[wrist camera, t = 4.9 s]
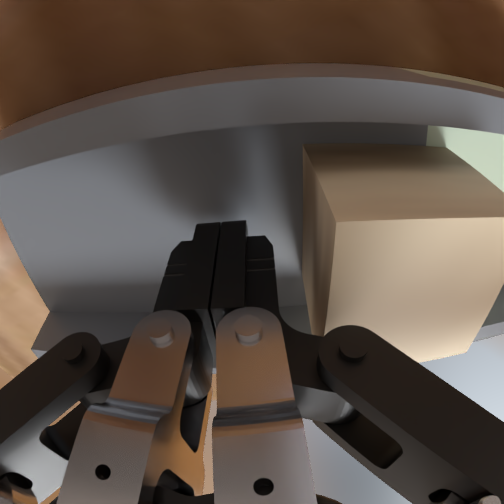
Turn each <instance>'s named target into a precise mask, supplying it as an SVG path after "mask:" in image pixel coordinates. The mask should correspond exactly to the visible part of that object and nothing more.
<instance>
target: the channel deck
mask: <svg viewBox="0 0 504 504" xmlns="http://www.w3.org/2000/svg"><path fill="white" fill-rule="evenodd" d="M321 143H367V144H399V145H418V146H433V147H446V148H448V149H449V150H451V151H452V152H453V153H455V154H456V155H458V156H459V157H460V158H462V159H463V160H464V161H466V162H467V163H468V164H470V165H471V166H472V167H473V168H475V169H476V170H477V171H478V172H480V173H481V174H482V175H483V176H485V177H486V178H487V179H488V180H490V181H491V182H492V183H493V184H494V185H496V186H497V187H498V188H499V189H500V190H501V191H502V192H504V88H503V87H500V86H496V85H492V84H488V83H484V82H480V81H476V80H471V79H467V78H462V77H457V76H452V75H446V74H440V73H434V72H428V71H421V70H414V69H406V68H397V67H387V66H376V65H361V64H338V63H293V64H270V65H255V66H243V67H233V68H224V69H215V70H208V71H201V72H194V73H188V74H182V75H176V76H170V77H165V78H160V79H155V80H150V81H145V82H141V83H136V84H132V85H128V86H124V87H120V88H116V89H112V90H108V91H105V92H101V93H98V94H94V95H91V96H87V97H84V98H81V99H78V100H75V101H71V102H68V103H65V104H62V105H60V106H57V107H54V108H51V109H48V110H46V111H43V112H40V113H38V114H35V115H32V116H30V117H27V118H25V119H22V120H20V121H18V122H15V123H13V124H11V125H10V126H8V127H6V128H4V129H2V130H0V218H1V220H2V222H3V224H4V227H5V229H6V231H7V233H8V235H9V237H10V240H11V242H12V244H13V246H14V248H15V250H16V252H17V254H18V256H19V258H20V260H21V262H22V264H23V265H24V267H25V269H26V271H27V273H28V275H29V277H30V278H31V280H32V282H33V284H34V285H35V287H36V289H37V291H38V292H39V294H40V296H41V297H42V299H43V301H44V302H45V304H46V306H47V307H48V309H49V311H50V313H49V314H48V316H47V318H46V320H45V322H44V324H43V326H42V328H41V330H40V332H39V334H38V336H37V338H36V340H35V342H34V344H33V346H32V348H31V350H32V351H33V352H34V354H35V355H36V356H37V357H38V358H40V357H41V356H42V355H43V354H45V353H46V352H47V351H48V350H50V349H51V348H52V347H54V346H55V345H56V344H57V343H59V342H60V341H61V340H62V339H64V338H65V337H67V336H69V335H71V334H73V333H77V332H88V333H91V334H93V335H94V336H95V337H96V338H97V339H98V340H99V342H100V343H101V345H102V344H106V343H110V342H114V341H118V340H122V339H125V338H128V337H130V336H131V335H132V332H133V330H134V328H135V326H136V325H137V324H138V322H139V321H140V320H141V319H143V318H144V317H146V316H147V315H149V314H151V313H153V310H154V306H155V303H156V299H157V296H158V293H159V289H160V286H161V283H162V279H163V277H164V273H165V270H166V266H167V263H168V260H169V257H170V254H171V252H172V250H173V249H174V248H175V247H176V246H177V245H178V244H179V243H180V242H181V241H191V240H192V239H193V235H194V231H195V227H196V225H197V224H200V223H212V222H221V223H222V222H225V221H238V220H247V227H248V236H262V235H265V236H266V237H267V238H268V240H269V241H270V242H271V243H272V245H273V250H274V260H275V271H276V282H277V293H278V304H279V312H280V315H281V317H282V318H283V320H284V321H285V322H286V323H287V324H288V325H289V326H290V327H292V328H293V329H295V330H297V331H300V332H303V333H307V334H312V333H311V326H310V320H309V314H308V307H307V301H306V295H305V289H304V283H303V277H302V249H303V144H321ZM501 334H504V284H503V286H502V288H501V290H500V292H499V294H498V296H497V298H496V300H495V302H494V304H493V306H492V308H491V310H490V312H489V314H488V316H487V317H486V319H485V321H484V323H483V325H482V326H481V328H480V330H479V332H478V333H477V335H476V337H475V338H474V340H473V342H475V341H478V340H483V339H487V338H490V337H494V336H498V335H501ZM212 374H216V368H213V371H212Z"/></svg>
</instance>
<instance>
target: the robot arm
mask: <svg viewBox="0 0 504 504" xmlns="http://www.w3.org/2000/svg"><path fill="white" fill-rule="evenodd" d="M213 368H216V382H217V414H216V416H215V417H214V419H213V423H212V454H213V482H214V493H212V494H206V495H202V494H203V487H204V479H205V469H204V462H203V451H204V445H205V438H206V432H207V426H208V419H209V413H210V407H211V401H212V395H213V390H212V386H211V383H212V371H213ZM77 401H80V402H81V403H80V404H79V405H78V406H77V407H75V408H74V409H73V410H72V411H71V412H69V413H68V414H67V415H66V416H65V417H63V418H62V419H61V420H60V421H59V422H57V423H56V424H55V425H52V426H49V425H50V424H51V423H52V422H53V421H55V420H56V419H57V418H58V417H59V416H61V415H62V414H63V413H64V412H65V411H66V410H68V409H69V408H70V407H71V406H73V405H74V404H75V403H76V402H77ZM302 418H305V419H310V420H313V422H314V423H315V425H316V426H317V427H319V428H320V429H321V430H322V431H323V432H324V433H325V434H327V435H328V436H329V437H330V438H331V439H332V440H334V441H335V442H336V443H337V444H338V445H339V446H341V447H342V448H343V449H344V450H345V451H346V452H348V453H349V454H350V455H351V456H352V457H354V458H355V459H356V460H357V461H359V462H360V463H361V464H362V465H363V466H365V467H366V468H367V469H368V470H369V471H371V472H372V473H373V474H374V475H376V476H377V477H378V478H380V479H381V480H382V481H383V482H385V483H386V484H387V485H389V486H390V487H391V488H392V489H394V490H395V491H396V492H398V493H399V494H400V495H402V496H403V497H404V498H406V499H407V500H408V501H410V502H411V503H412V504H504V422H503V421H501V420H500V419H498V418H497V417H495V416H494V415H493V414H491V413H489V412H488V411H487V410H485V409H484V408H482V407H481V406H480V405H478V404H477V403H475V402H474V401H472V400H471V399H470V398H468V397H467V396H465V395H464V394H462V393H461V392H459V391H458V390H457V389H455V388H454V387H452V386H451V385H449V384H448V383H446V382H445V381H444V380H442V379H441V378H439V377H438V376H436V375H435V374H433V373H432V372H431V371H429V370H428V369H426V368H425V367H423V366H422V365H420V364H419V363H418V362H416V361H415V360H413V359H412V358H410V357H409V356H407V355H406V354H405V353H403V352H402V351H400V350H399V349H397V348H396V347H394V346H393V345H392V344H390V343H389V342H387V341H386V340H384V339H383V338H381V337H380V336H378V335H377V334H376V333H374V332H373V331H371V330H369V329H367V328H365V327H361V326H357V325H344V326H340V327H336V328H334V329H332V330H331V331H329V332H328V333H327V334H326V335H325V336H324V337H322V336H317V335H312V334H307V333H303V332H300V331H297V330H295V329H293V328H292V327H290V326H289V325H288V324H287V323H286V322H285V321H284V320H283V318H282V317H281V315H280V312H279V304H278V293H277V282H276V271H275V260H274V250H273V245H272V243H271V242H270V241H269V240H268V238H267V237H266V236H265V235H262V236H248V227H247V220H238V221H225V222H222V223H221V222H212V223H200V224H197V225H196V227H195V231H194V235H193V239H192V240H191V241H181V242H180V243H179V244H178V245H177V246H176V247H175V248H174V249H173V250H172V252H171V254H170V257H169V260H168V263H167V266H166V270H165V273H164V277H163V279H162V283H161V286H160V289H159V293H158V296H157V299H156V303H155V306H154V310H153V313H151V314H149V315H147V316H146V317H144V318H143V319H141V320H140V321H139V322H138V324H137V325H136V326H135V328H134V330H133V332H132V335H131V336H130V337H128V338H125V339H122V340H118V341H114V342H110V343H106V344H102V345H101V343H100V342H99V340H98V339H97V338H96V337H95V336H94V335H93V334H91V333H88V332H77V333H73V334H71V335H69V336H67V337H65V338H64V339H62V340H61V341H60V342H59V343H57V344H56V345H55V346H54V347H52V348H51V349H50V350H48V351H47V352H46V353H45V354H43V355H42V356H41V357H40V358H38V359H37V360H36V361H35V362H33V363H32V364H31V365H30V366H28V367H27V368H26V369H25V370H24V371H22V372H21V373H20V374H19V375H17V376H16V377H15V378H14V379H13V380H12V381H10V382H9V383H8V384H6V385H5V386H4V387H3V388H2V389H1V390H0V504H40V503H41V502H42V501H43V500H44V499H46V498H47V497H48V496H50V495H51V494H52V493H53V492H55V491H56V490H57V489H58V488H60V487H61V489H60V493H59V496H58V497H56V498H55V499H54V500H53V501H52V502H51V503H50V504H342V503H340V502H338V501H336V500H333V499H331V498H327V497H325V496H322V495H317V494H315V487H314V481H313V476H312V470H311V464H310V459H309V453H308V447H307V442H306V437H305V431H304V425H303V421H302Z"/></svg>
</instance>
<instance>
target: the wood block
mask: <svg viewBox="0 0 504 504" xmlns="http://www.w3.org/2000/svg"><path fill="white" fill-rule="evenodd" d="M302 277H303V283H304V289H305V295H306V301H307V307H308V314H309V320H310V326H311V333H312V335H317V336H322V337H324V336H325V335H326V334H327V333H328V332H329V331H331V330H332V329H334V328H336V327H340V326H344V325H357V326H361V327H365V328H367V329H369V330H371V331H373V332H374V333H376V334H377V335H378V336H380V337H381V338H383V339H384V340H386V341H387V342H389V343H390V344H392V345H393V346H394V347H396V348H397V349H399V350H400V351H402V352H403V353H405V354H406V355H407V356H409V357H410V358H412V359H413V360H415V361H416V362H418V363H419V362H424V361H429V360H434V359H439V358H444V357H448V356H453V355H457V354H461V353H466V352H467V350H468V348H469V347H470V345H471V343H472V342H473V340H474V338H475V337H476V335H477V333H478V332H479V330H480V328H481V326H482V325H483V323H484V321H485V319H486V317H487V316H488V314H489V312H490V310H491V308H492V306H493V304H494V302H495V300H496V298H497V296H498V294H499V292H500V290H501V288H502V286H503V284H504V192H502V191H501V190H500V189H499V188H498V187H497V186H496V185H494V184H493V183H492V182H491V181H490V180H488V179H487V178H486V177H485V176H483V175H482V174H481V173H480V172H478V171H477V170H476V169H475V168H473V167H472V166H471V165H470V164H468V163H467V162H466V161H464V160H463V159H462V158H460V157H459V156H458V155H456V154H455V153H453V152H452V151H451V150H449V149H448V148H446V147H433V146H418V145H399V144H367V143H321V144H303V249H302Z"/></svg>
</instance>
